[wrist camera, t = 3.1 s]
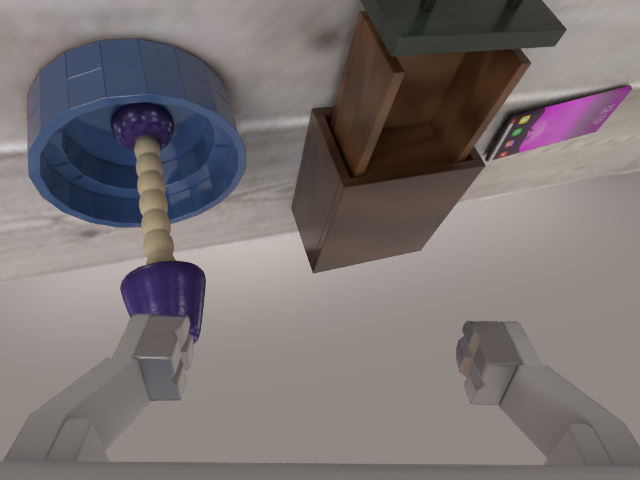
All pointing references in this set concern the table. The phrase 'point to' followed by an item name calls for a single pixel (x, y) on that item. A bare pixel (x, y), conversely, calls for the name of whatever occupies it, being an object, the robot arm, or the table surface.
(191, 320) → the toy lamp
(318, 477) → the robot arm
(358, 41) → the drawer
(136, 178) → the bowl
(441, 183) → the cabinet
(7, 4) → the table surface
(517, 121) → the smartphone
